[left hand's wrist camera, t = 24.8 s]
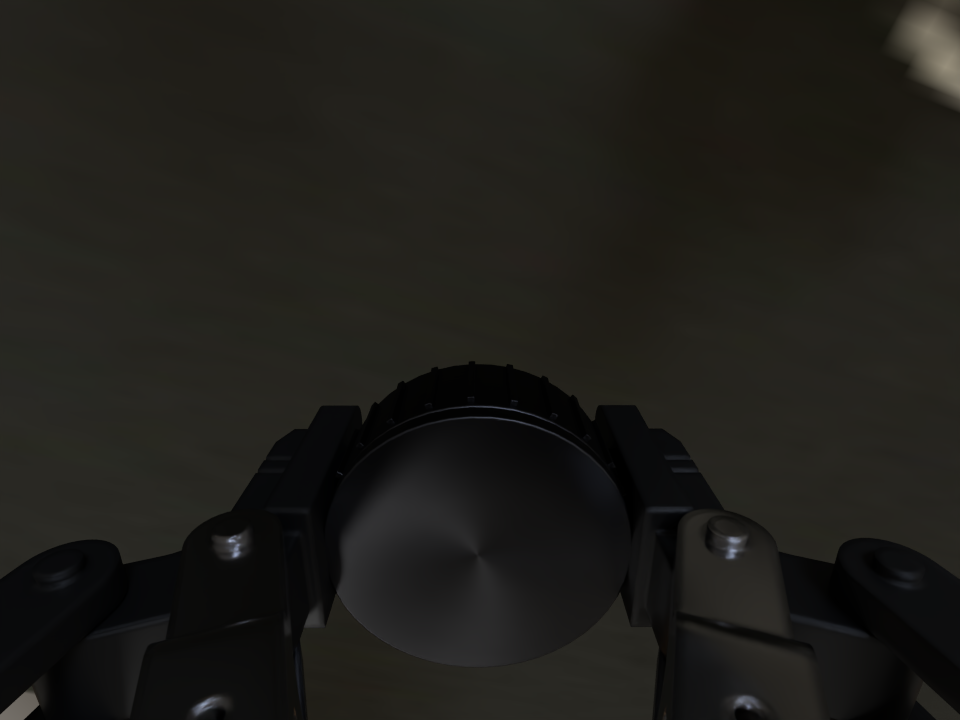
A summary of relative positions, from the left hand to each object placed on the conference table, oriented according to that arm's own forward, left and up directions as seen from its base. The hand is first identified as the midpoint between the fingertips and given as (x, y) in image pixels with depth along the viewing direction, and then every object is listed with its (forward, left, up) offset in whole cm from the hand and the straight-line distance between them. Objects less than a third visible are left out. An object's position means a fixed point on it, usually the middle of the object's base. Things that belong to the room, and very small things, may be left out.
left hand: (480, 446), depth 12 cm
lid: (0, 0, +3) cm, 3 cm away
